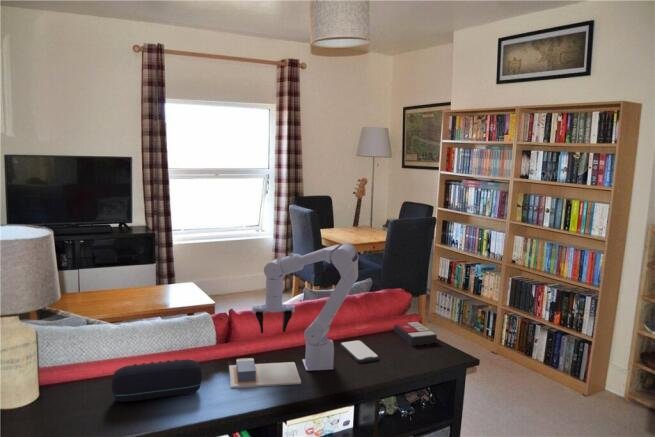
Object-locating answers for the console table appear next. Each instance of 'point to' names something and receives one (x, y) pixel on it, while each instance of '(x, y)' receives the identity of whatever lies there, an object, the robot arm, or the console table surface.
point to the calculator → (415, 333)
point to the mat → (268, 375)
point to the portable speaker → (156, 380)
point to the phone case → (359, 351)
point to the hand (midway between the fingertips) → (272, 331)
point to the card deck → (245, 369)
